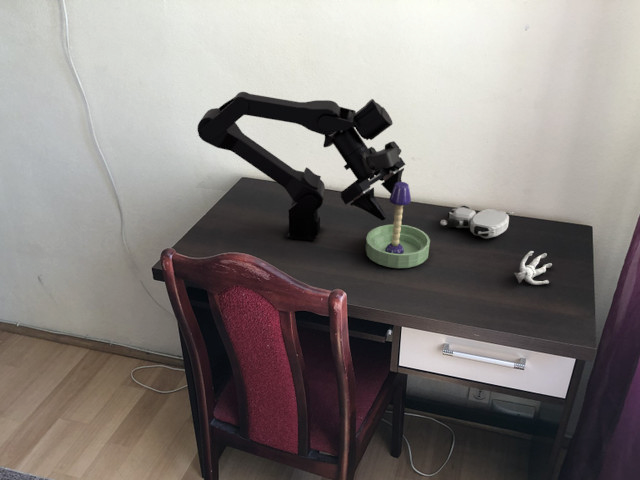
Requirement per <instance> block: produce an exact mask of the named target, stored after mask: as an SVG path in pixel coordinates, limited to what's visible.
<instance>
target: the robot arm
mask: <svg viewBox="0 0 640 480" xmlns="http://www.w3.org/2000/svg"><path fill="white" fill-rule="evenodd" d="M243 116H250V117H255V118H260V119H261V118H262V119H268V120H274V121H279V122H286V123H291V124H297V125H299V126H302V127H304V128H305V129H307V130H308V131H310V132H313V133H316V134H319V135H322V136H324V141H323V148H328V147H332V145H333V146H334V148H335V149H336V150H337V151H338V153H339V155H340V156H341V158H342V159H343V160H344V162H345V164H344V166H343V168H344V169H345V171H348V170H350V171H351V172H352V174H353V175H354V177H355V178H356V180H354V181H353V182H352V183H351V184H349V185H348V186H347V187H346V188H344V189H343V190H342V191H341V192H340V199H341V200H342V201H343V203H344V204H345V205H348V204H349V203H350V204H349V205H350V206H352V207H353V206H355V207H357V208H359V209H361V210H363V211H365V212H367V213H368V214H370V215H372V216H373V217H375V218H377V219H378V220H380V221H385V220H387V217H386V215H385V212H384V210H383V208H382V207H381V206H380V204H379V202H378V200H377V199H376V197H375V187H371V186H372V185H374V184H375V183H377V182H379V181H381V182H382V183H380V185H381V186H382V187H383V188H384V189H385V190H386V191H388V193H389V194H391V193H392V190H393V188H394V185H395V184H396V183H397V182H403V181H402V176H403V172H404V171H405V167H404V166H406V163H405V161H404V160H403V158H402V157H400V155H401V153H402V149H401V148H400V146H399V145H398V144H397V143H396V141H390V142H388V143H385V144H384V148H383V149H381V150H376V148H375V147H373V146H370V147H368V146H367V144H366V143H365V141H368V140H370V141H372V140H374V139H375V138H376V137H378V136H379V135H381V134H382V133H383V132H385V131H386V130H387V129H388V128H390V127H391V126H392V125H393V124H394V123H393V120H392V118H391V116H390V114H389V112H388V111H387V110H386V108H385V107H384V106H382V105H381V104H379V103H378V102H376V100H374V99H373V98H371V99H370V100H368V101H367V102H366V103H365V104H364V106H363V107H361V108H360V109H358V110H357V111H356V110H355V109H352V108H346V107H343V106H339V104H338V103H337V102H336V101H333V100H329V99H328V100H327V99H325V100H323V99H321V100H318V99H317V100H310V101H294V100H288V99H282V98H276V97H272V96H271V97H270V96H265V95H259V94H253V93H249V92H247V91H240V92H238V93H236V95H235V96H234V97H232V98H231V99H229V100H227V101H226V102H225V103H223V104H222V105H221V106H219V107H216V108H210V109H208V110H207V111H206V112H205V113H204V115H202V118H201V119H200V120H199V122H198V124H197V129H196V130H197V134H198V137H199V138H200V139H201V140H202V141H203V142H204V143H207V144H209V145H211V146H212V147H215V148H216V149H221V150H225V151H230V152H232V153H234V154H235V155H237V156H238V157H239V158H241V159H243V160H244V161H245V162H247V163H248V164H249V165H251V166H252V167H254V168H255V169H257V170H258V171H259V172H261V173H263V174H264V175H265V176H266V177H268V178H269V179H271V180H272V181H274V182H275V183H277V184H279V185H280V186H282V187H283V188H284V190H286V192H287V193H288V195H289V196H290V198H291V201H290V203H289V207H288V210H287V211H288V234H287V236H286V238H287V239H289V240H297V241H298V240H299V241H307V242H314V241H315V240H316V238H317V237H318V236H319V233H320V231H321V216H320V215H319V213H318V212H319V209H320V208H321V207H322V205H323V202H324V197H325V192H326V186H325V183H324V181H323V180H322V179H321V178H322V176H321V175H318V174H316V173H315V172H313V171H312V170H311V169H310V168H309V167H305V168H304V170H303V171H302V170H297V169H294V168H293V167H292V166H290V165H289V164H287V163H286V162H285V161H284V160H282V159H280V158H278V157H277V156H276V155H274V154H273V153H272V152H270V151H269V150H268V149H266V148H264V147H263V146H261V145H260V144H259V143H258V142H256V141H254V140H253V139H252V138H250V137H249V136H247V134H245V133H244V132H243V131H242V130H241V129H240V126H239V125H238V124H237V123H236V122H237V121H239V120H240V119H241V118H243ZM364 140H365V141H364ZM370 188H371V189H370Z"/></svg>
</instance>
